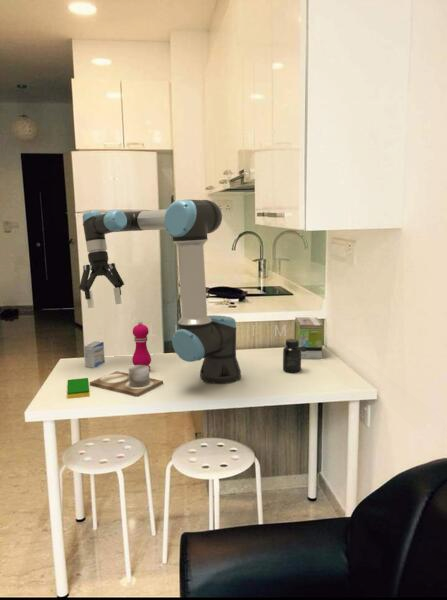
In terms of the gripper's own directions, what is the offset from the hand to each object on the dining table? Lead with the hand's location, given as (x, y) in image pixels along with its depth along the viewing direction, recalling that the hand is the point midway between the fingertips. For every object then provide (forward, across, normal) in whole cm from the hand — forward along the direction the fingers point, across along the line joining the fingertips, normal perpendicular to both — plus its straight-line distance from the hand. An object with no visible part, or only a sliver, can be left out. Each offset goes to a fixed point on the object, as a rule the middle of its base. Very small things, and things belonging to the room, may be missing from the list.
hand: (105, 305), depth 198 cm
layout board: (+29, +9, +16) cm, 35 cm away
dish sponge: (+28, +23, +7) cm, 37 cm away
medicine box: (+23, +1, -11) cm, 26 cm away
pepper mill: (+27, -5, +10) cm, 29 cm away
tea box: (+33, -62, +51) cm, 87 cm away
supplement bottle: (+35, -39, +56) cm, 77 cm away
